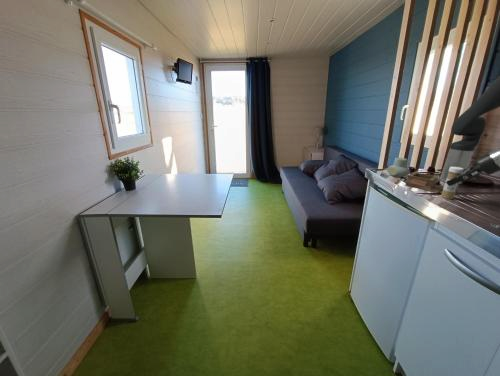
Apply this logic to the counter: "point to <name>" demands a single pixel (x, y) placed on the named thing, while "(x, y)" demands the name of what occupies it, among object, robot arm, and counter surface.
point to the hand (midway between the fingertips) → (448, 181)
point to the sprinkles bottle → (450, 190)
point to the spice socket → (423, 182)
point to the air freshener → (398, 168)
